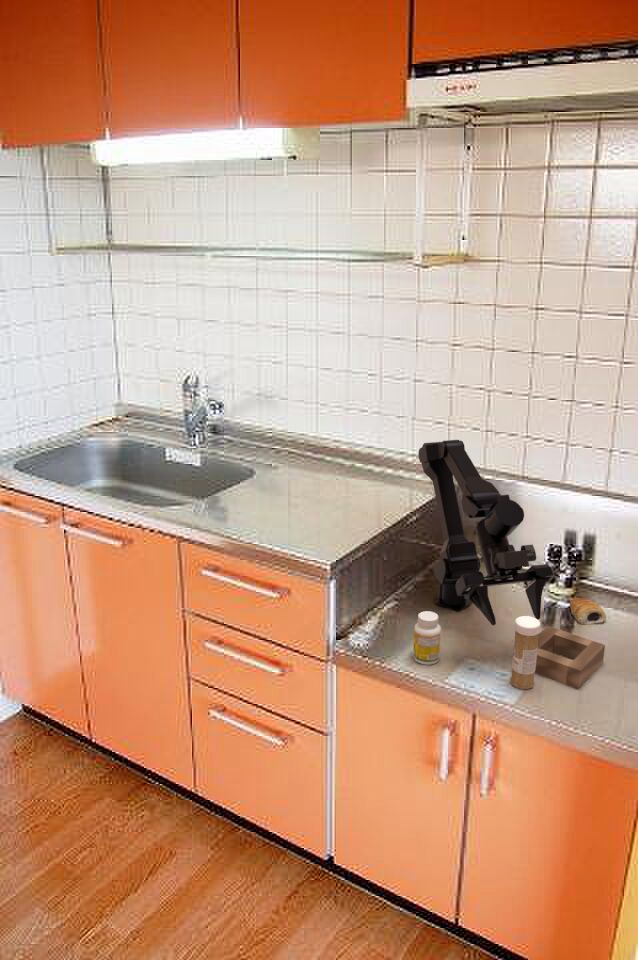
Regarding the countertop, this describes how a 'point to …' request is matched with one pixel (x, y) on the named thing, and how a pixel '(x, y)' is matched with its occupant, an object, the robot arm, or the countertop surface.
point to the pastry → (587, 611)
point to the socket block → (569, 645)
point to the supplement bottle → (427, 638)
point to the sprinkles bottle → (525, 652)
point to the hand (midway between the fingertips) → (516, 622)
